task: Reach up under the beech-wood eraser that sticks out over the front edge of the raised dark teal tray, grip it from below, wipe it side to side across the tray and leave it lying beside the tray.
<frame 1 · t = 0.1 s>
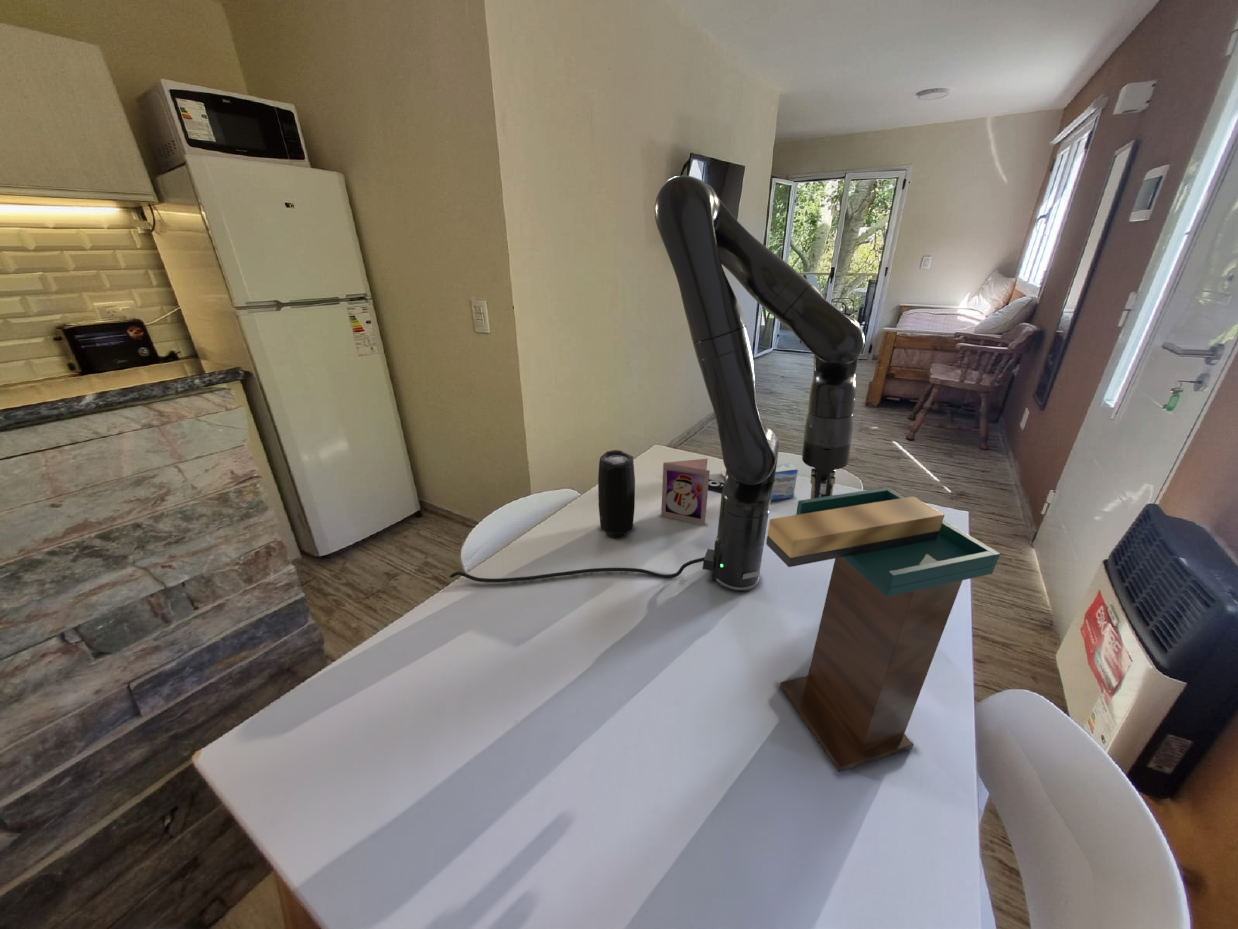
hand: (817, 519, 89), 17 cm above the table, tool pointing down, fingers open, 8 cm apart
eraser: (852, 541, 56), point 32 cm above the table, touching tray
stand: (835, 717, 71), on the table
greeting card: (685, 515, 123), on the table
portable speaker: (616, 530, 117), on the table
tray: (884, 543, 58), resting on stand
can: (733, 477, 143), on the table
snack bag: (848, 521, 121), on the table
medicine box: (776, 496, 132), on the table
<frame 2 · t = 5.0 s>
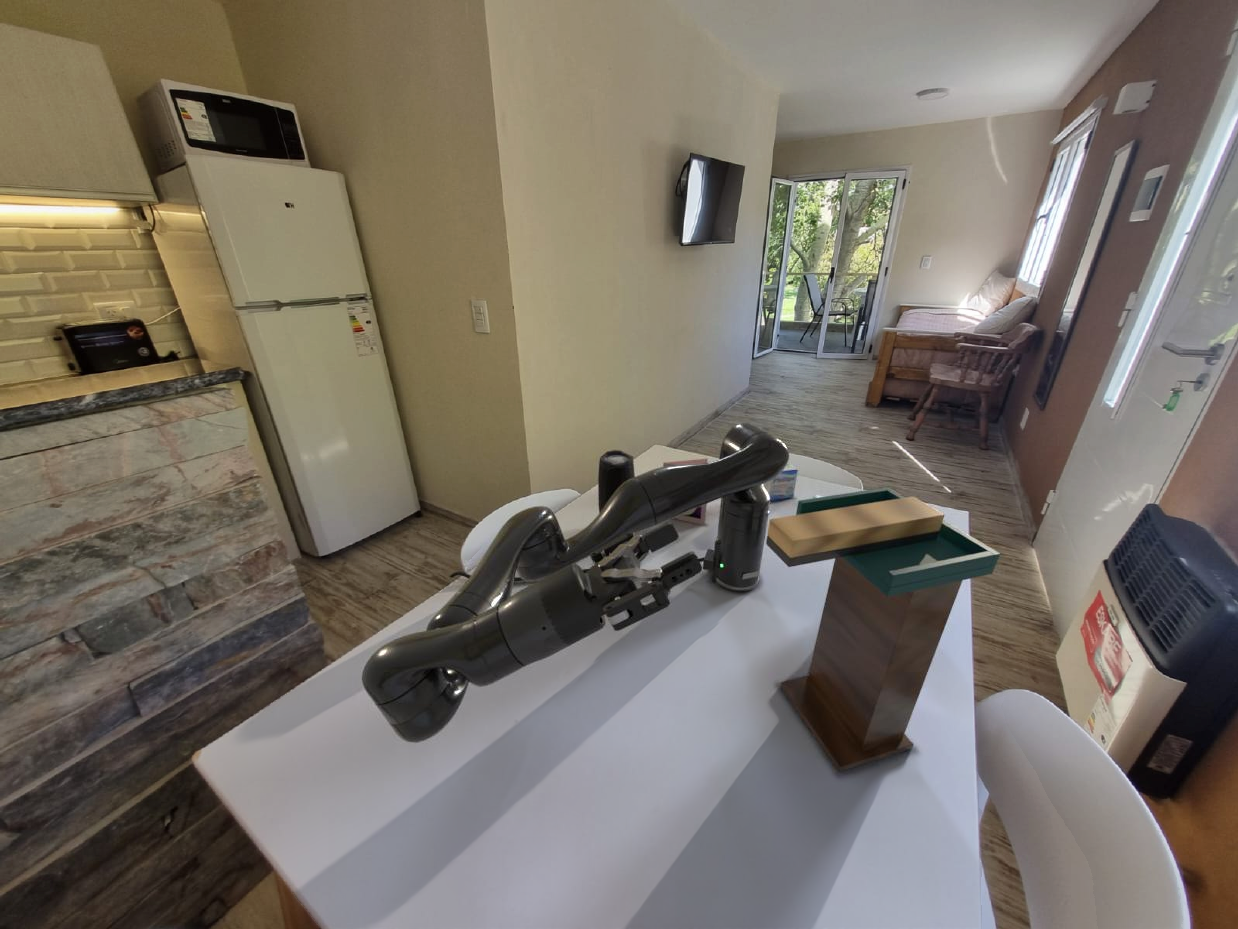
hand: (685, 543, 52), 34 cm above the table, tool pointing upward, fingers open, 8 cm apart
nothing on the table moved.
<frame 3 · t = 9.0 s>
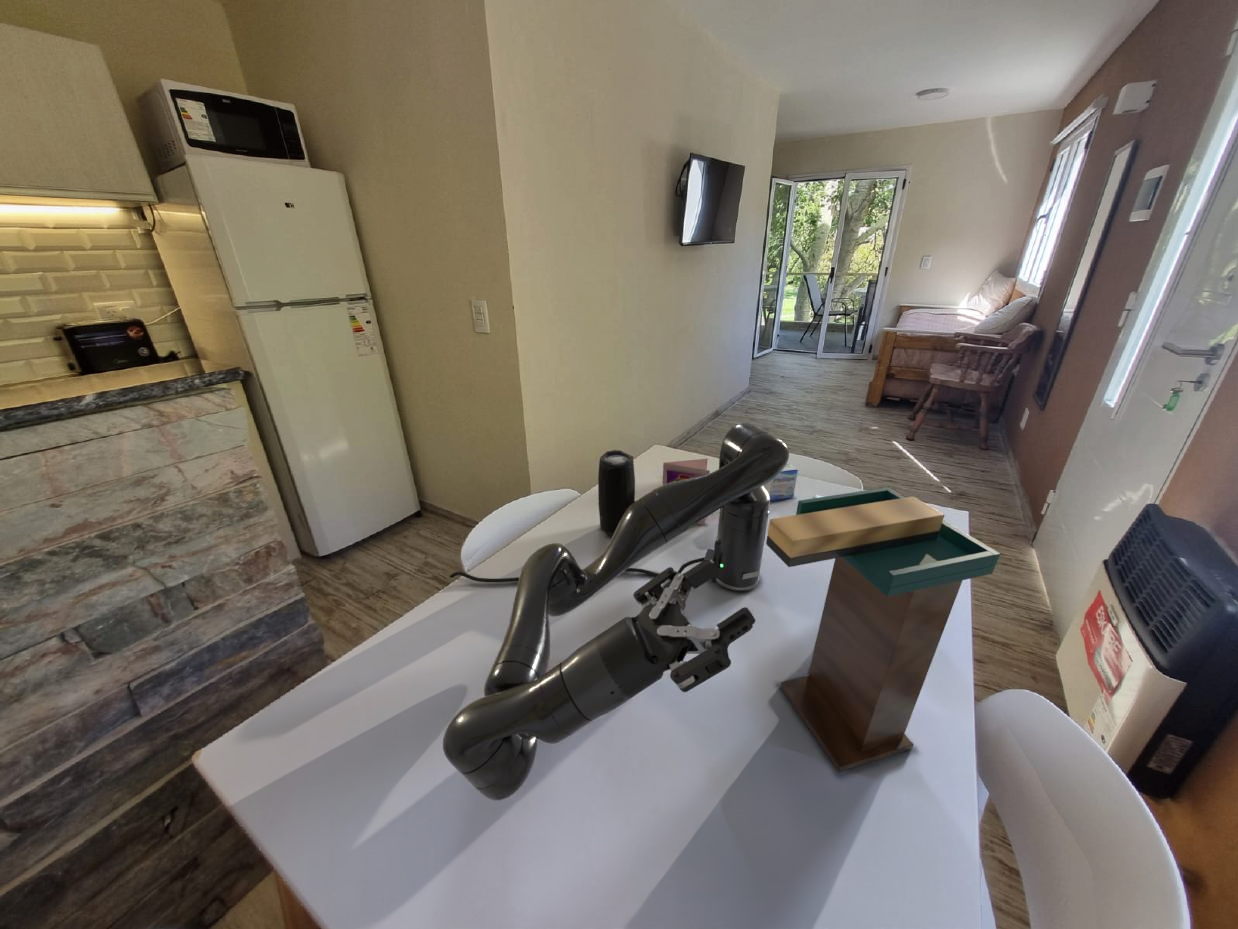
hand: (731, 587, 54), 29 cm above the table, tool pointing upward, fingers open, 8 cm apart
nothing on the table moved.
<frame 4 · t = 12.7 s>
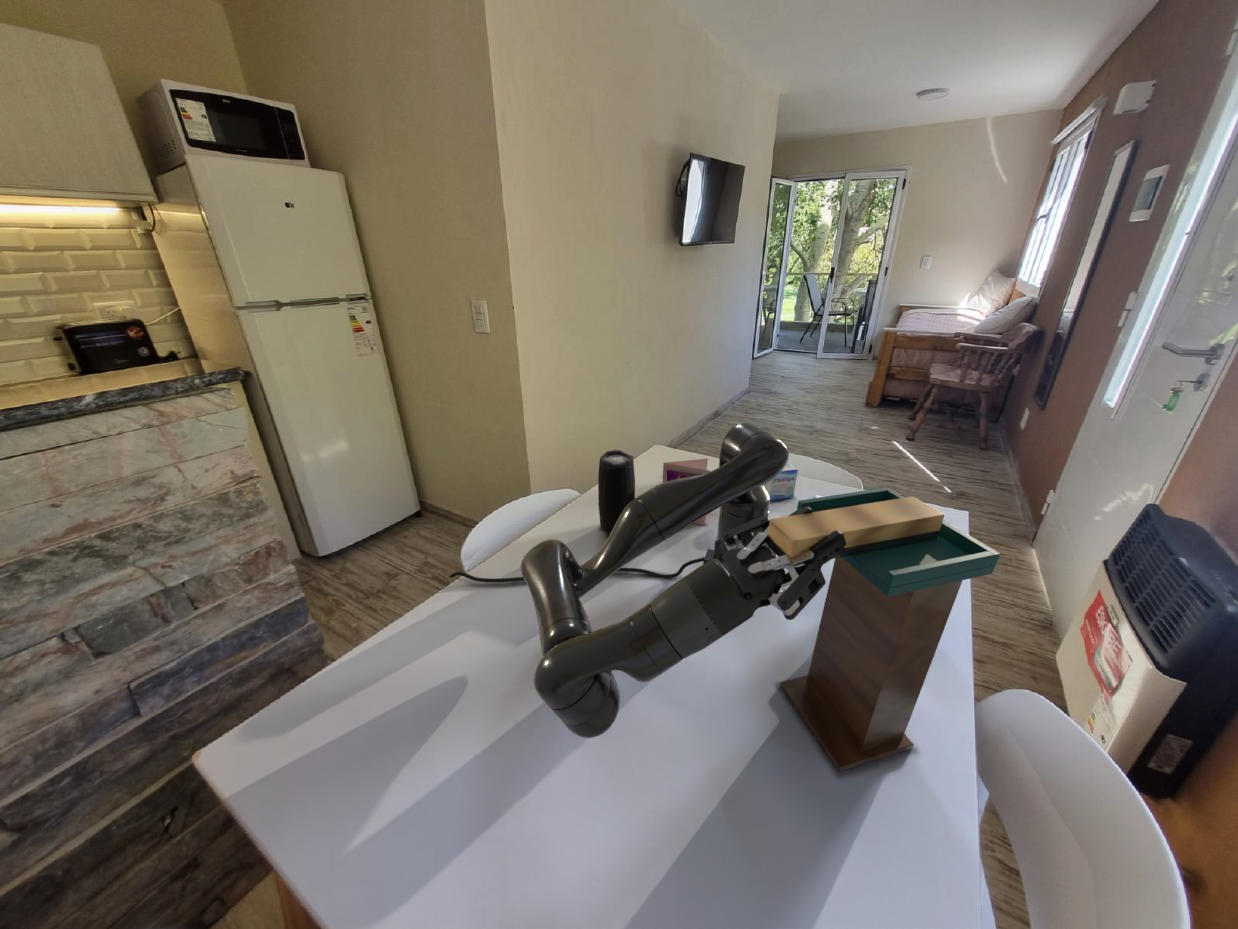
hand: (826, 524, 54), 35 cm above the table, tool pointing upward, fingers closed on eraser, 4 cm apart
eraser: (852, 541, 56), point 32 cm above the table, touching gripper, tray
everything else where it was.
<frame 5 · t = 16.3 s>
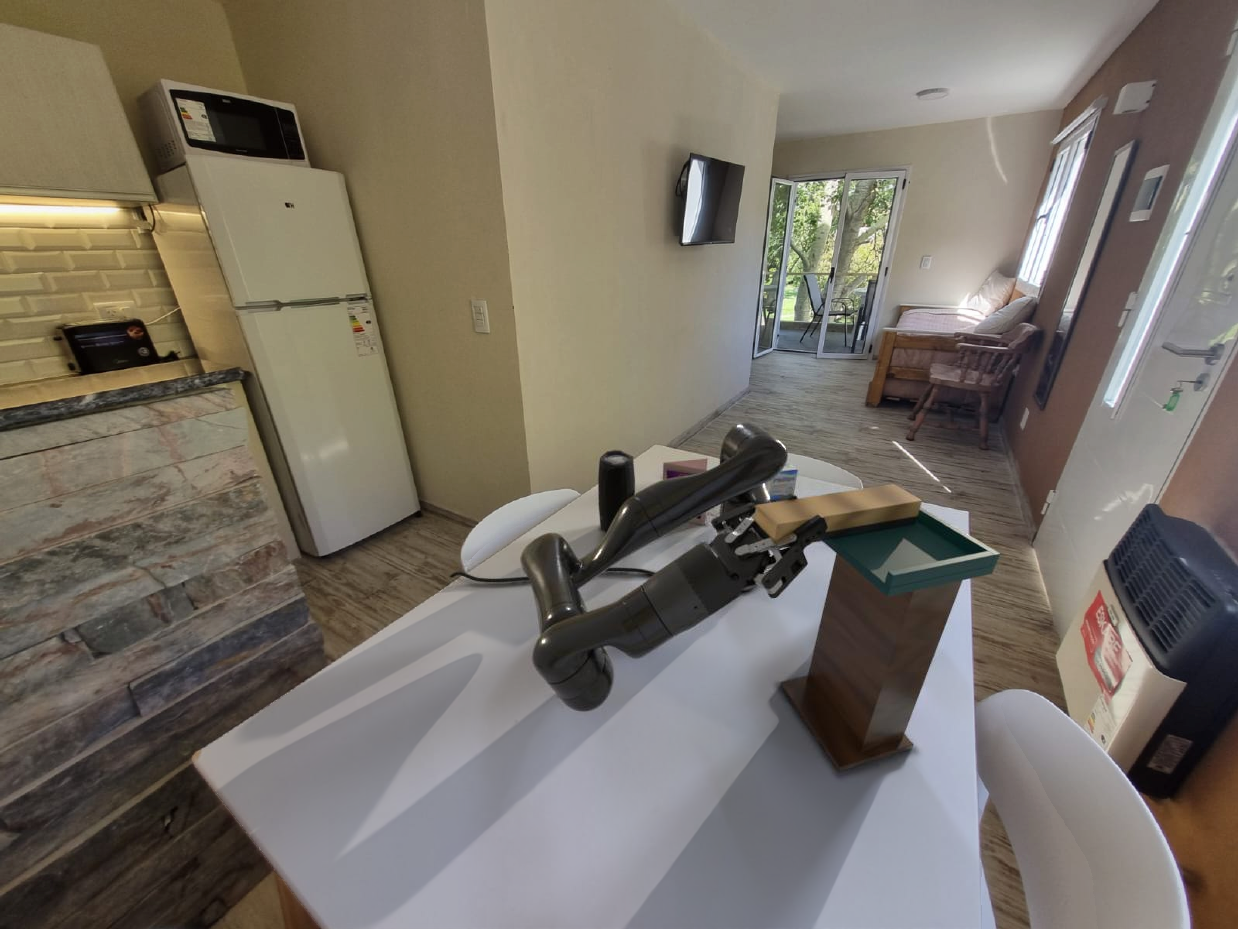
hand: (809, 510, 57), 35 cm above the table, tool pointing upward, fingers closed on eraser, 4 cm apart
eraser: (834, 526, 59), point 32 cm above the table, touching gripper
everything else where it was.
when the fingers open (35 cm above the table, at t = 19.0 s): eraser stays where it is, resting on tray.
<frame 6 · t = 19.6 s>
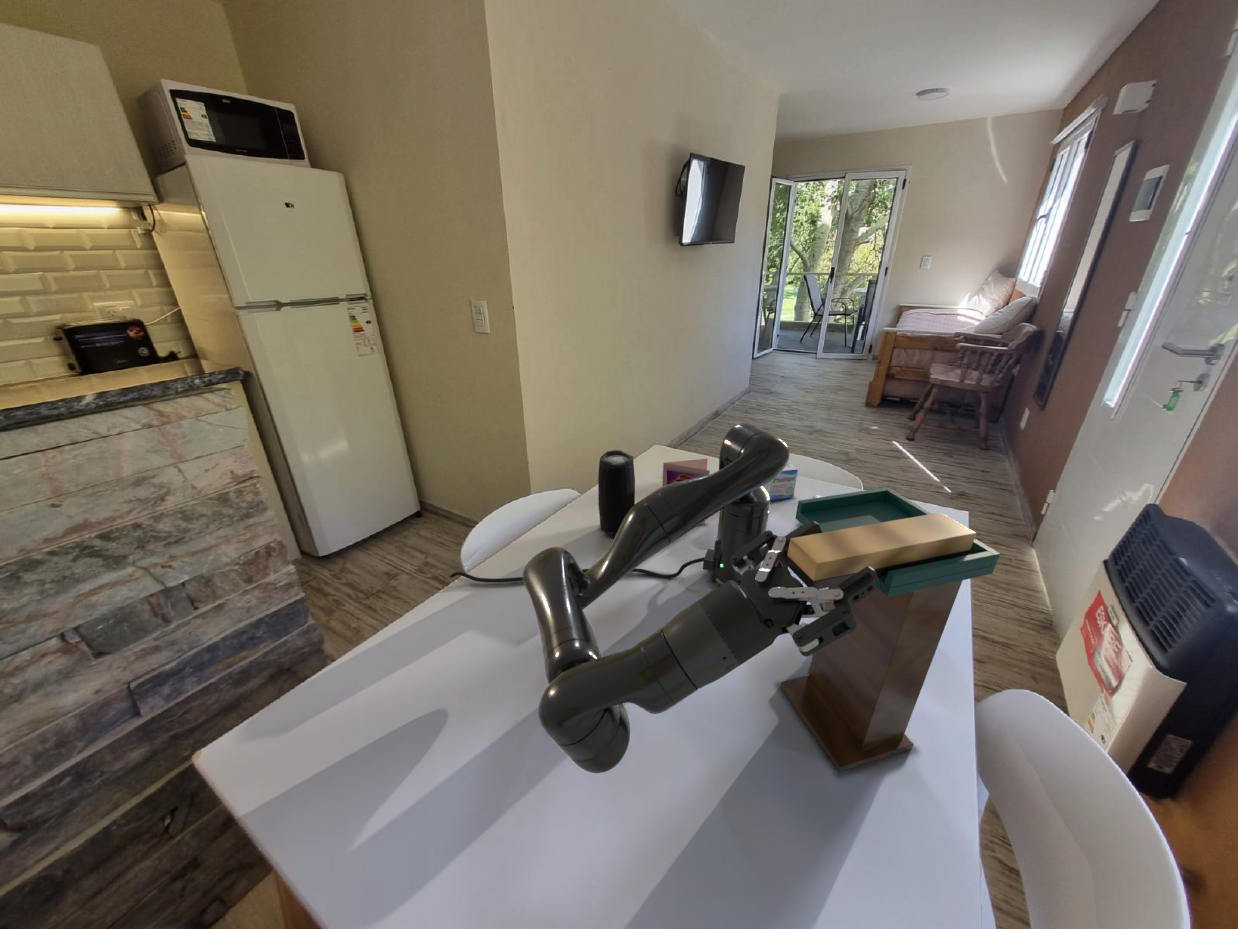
hand: (844, 548, 50), 35 cm above the table, tool pointing upward, fingers open, 8 cm apart
eraser: (877, 561, 53), point 32 cm above the table, touching tray
everything else where it was.
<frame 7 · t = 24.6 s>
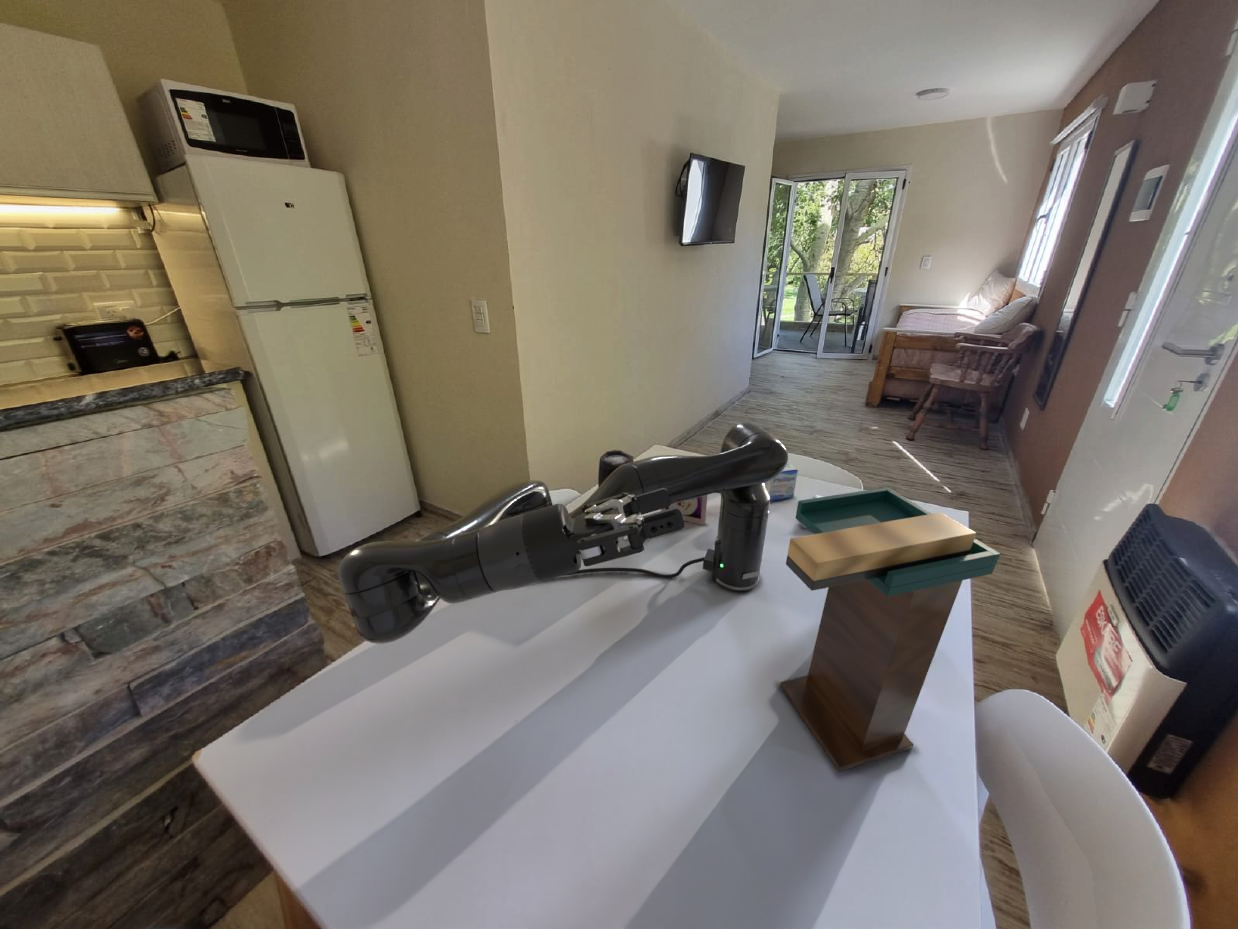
hand: (675, 505, 51), 38 cm above the table, tool horizontal, fingers open, 8 cm apart
nothing on the table moved.
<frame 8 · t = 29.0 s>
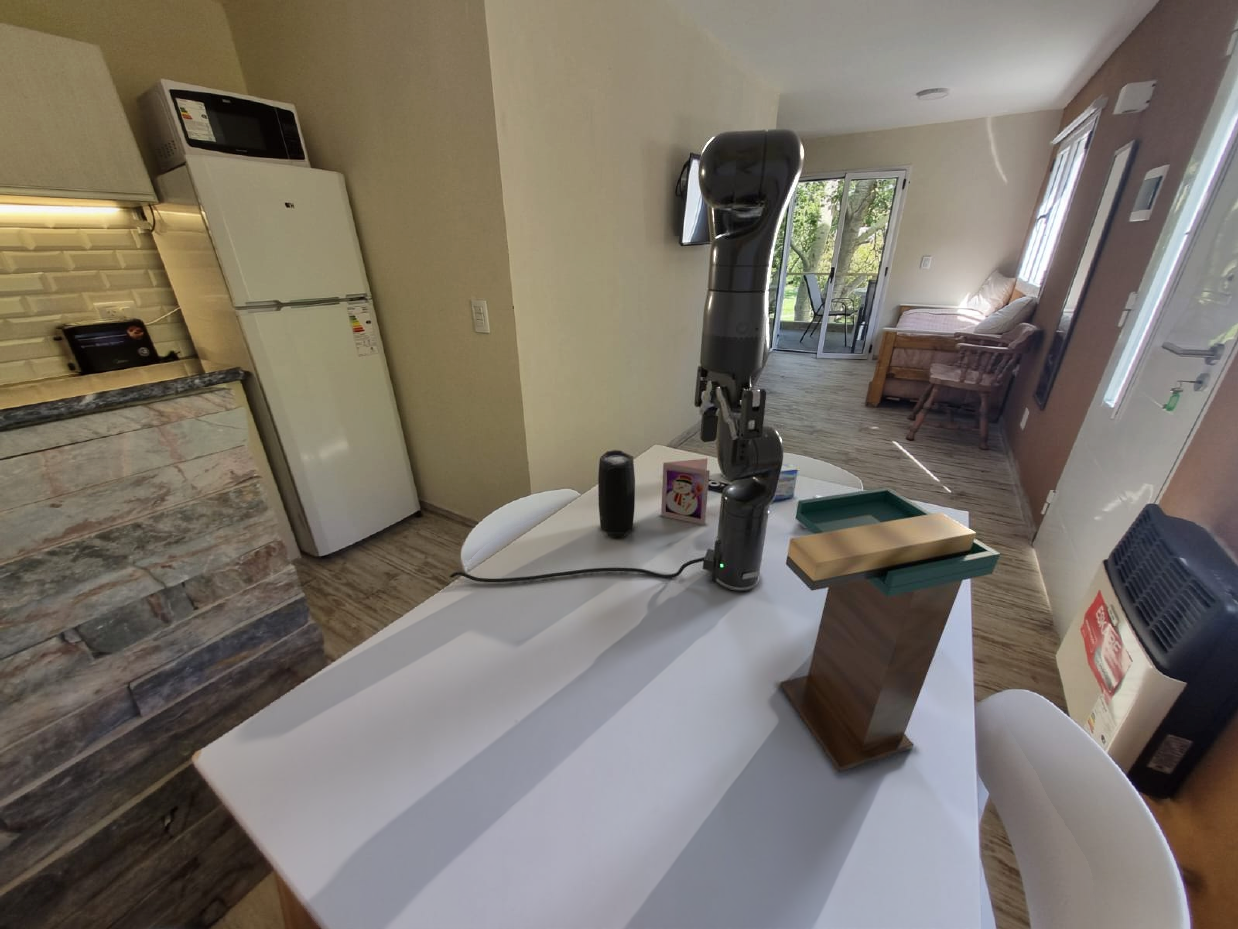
hand: (721, 452, 65), 38 cm above the table, tool pointing down, fingers open, 8 cm apart
nothing on the table moved.
at the end: eraser inside the target area on the tray (5.0 cm from its centre), point 1.2 cm above the tray's base; eraser moved 4.0 cm from its start; the gripper is holding nothing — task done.
